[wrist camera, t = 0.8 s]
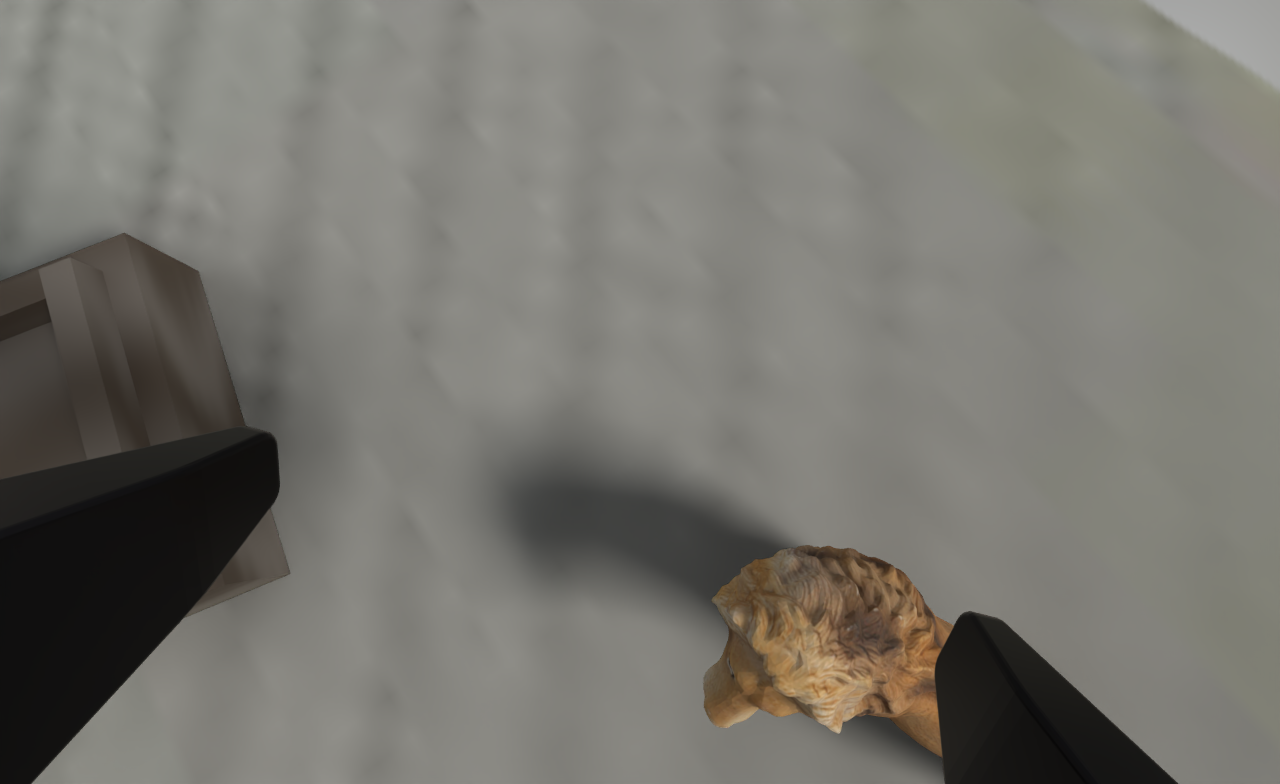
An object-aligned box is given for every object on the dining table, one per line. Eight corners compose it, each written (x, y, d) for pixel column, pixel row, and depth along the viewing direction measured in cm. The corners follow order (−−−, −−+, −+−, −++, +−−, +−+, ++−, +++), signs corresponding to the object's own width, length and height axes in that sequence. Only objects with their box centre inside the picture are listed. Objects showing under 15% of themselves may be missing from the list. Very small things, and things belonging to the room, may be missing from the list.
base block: (290, 574, 23) (196, 590, 18) (-44, 712, 22) (-227, 764, 18) (198, 271, 25) (93, 216, 20) (-109, 392, 24) (-288, 364, 20)
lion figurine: (666, 645, 22) (671, 735, 13) (732, 501, 23) (777, 495, 14) (1090, 862, 21) (1413, 1126, 12) (1145, 700, 21) (1486, 833, 13)
